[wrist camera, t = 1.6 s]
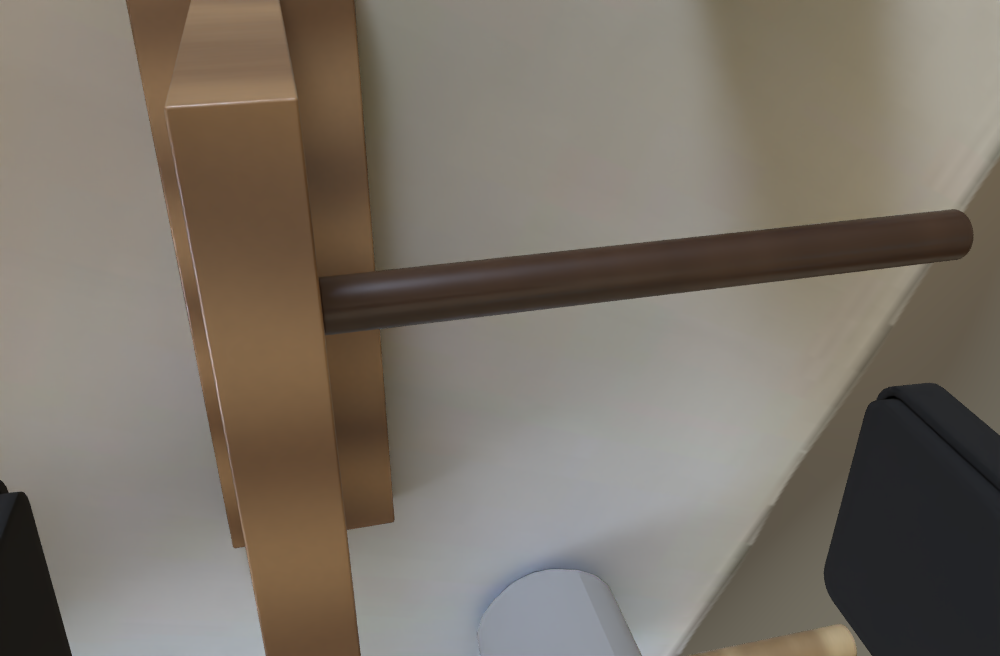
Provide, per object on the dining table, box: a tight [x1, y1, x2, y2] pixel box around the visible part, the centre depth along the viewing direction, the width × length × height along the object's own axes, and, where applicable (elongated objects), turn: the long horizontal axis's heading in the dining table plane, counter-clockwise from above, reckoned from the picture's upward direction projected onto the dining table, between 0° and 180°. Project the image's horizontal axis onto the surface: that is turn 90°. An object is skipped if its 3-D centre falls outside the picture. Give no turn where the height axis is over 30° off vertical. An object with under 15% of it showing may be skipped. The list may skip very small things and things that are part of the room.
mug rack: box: [126, 0, 973, 656], centre depth 29 cm, size 24×20×18 cm
